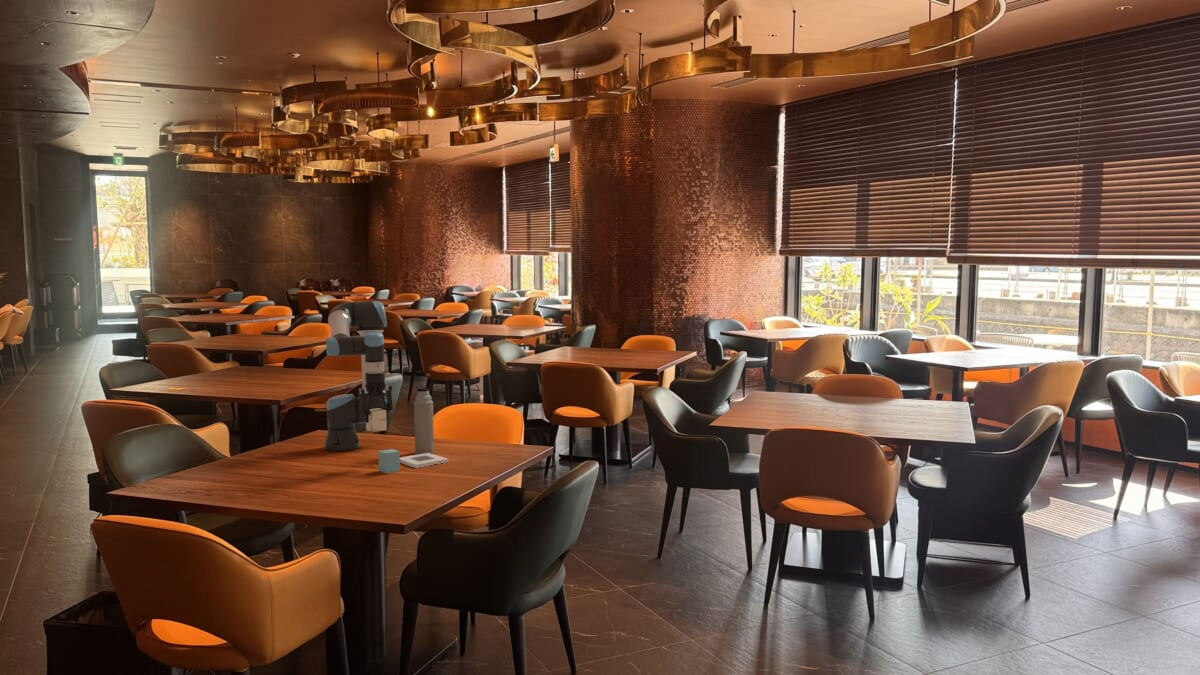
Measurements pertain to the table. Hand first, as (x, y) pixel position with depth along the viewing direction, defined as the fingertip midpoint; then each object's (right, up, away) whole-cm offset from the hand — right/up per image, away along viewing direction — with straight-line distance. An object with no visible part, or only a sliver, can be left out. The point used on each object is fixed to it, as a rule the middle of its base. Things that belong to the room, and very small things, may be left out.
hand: (376, 429), depth 361 cm
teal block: (+7, -16, -7) cm, 18 cm away
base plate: (+17, -14, +9) cm, 24 cm away
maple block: (0, 0, 0) cm, 0 cm away
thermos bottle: (+14, -13, +26) cm, 33 cm away
